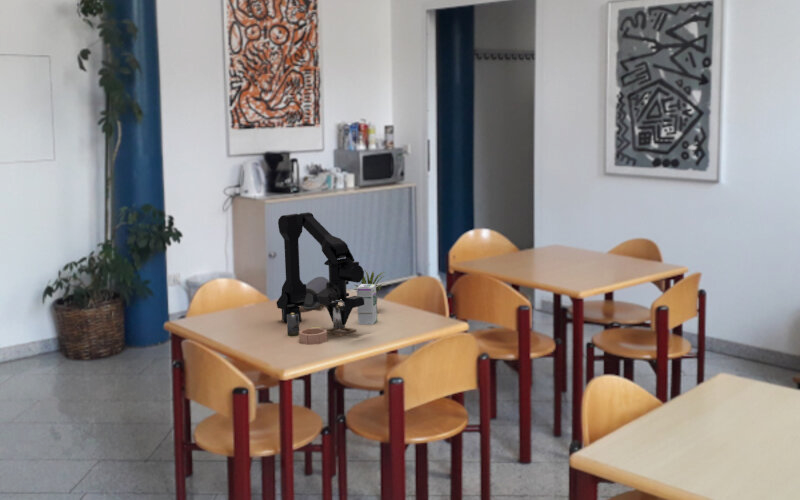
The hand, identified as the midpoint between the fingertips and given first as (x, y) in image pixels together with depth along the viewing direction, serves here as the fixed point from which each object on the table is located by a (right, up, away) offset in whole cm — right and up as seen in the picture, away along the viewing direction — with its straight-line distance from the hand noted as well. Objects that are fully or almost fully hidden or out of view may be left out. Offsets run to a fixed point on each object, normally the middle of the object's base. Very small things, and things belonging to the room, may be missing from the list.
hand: (339, 324), depth 306 cm
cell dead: (-15, -4, -1) cm, 16 cm away
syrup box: (+9, -2, +14) cm, 17 cm away
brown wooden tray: (0, -4, +1) cm, 4 cm away
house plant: (+10, +2, +34) cm, 36 cm away
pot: (-8, -6, -9) cm, 13 cm away
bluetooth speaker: (-13, +3, +47) cm, 49 cm away
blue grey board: (-12, -4, +3) cm, 13 cm away
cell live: (0, -1, 0) cm, 1 cm away
